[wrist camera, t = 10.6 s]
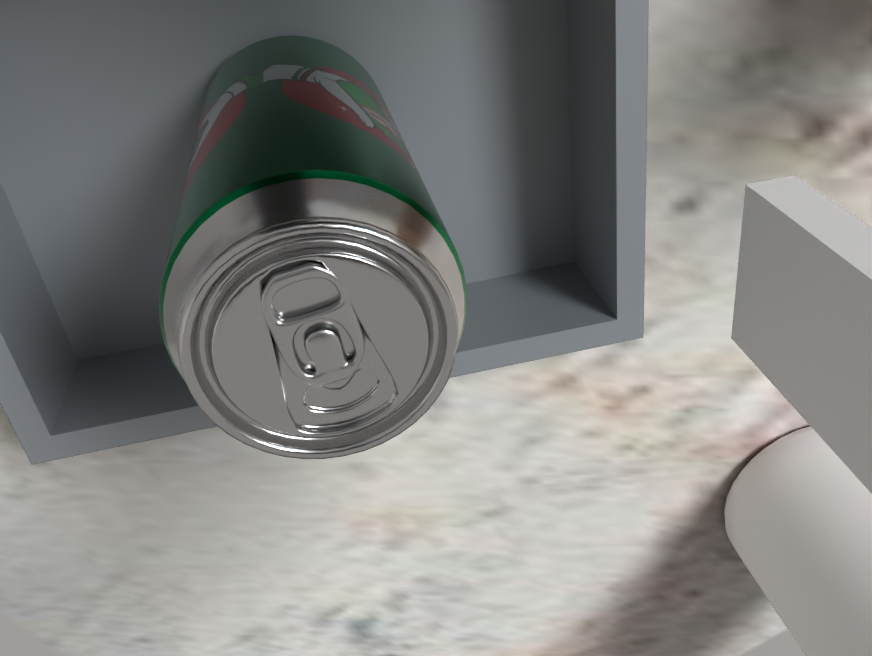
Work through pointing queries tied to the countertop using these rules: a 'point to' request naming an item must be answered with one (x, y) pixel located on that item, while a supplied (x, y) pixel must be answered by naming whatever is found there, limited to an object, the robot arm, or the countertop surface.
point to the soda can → (308, 260)
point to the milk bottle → (807, 542)
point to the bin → (420, 130)
